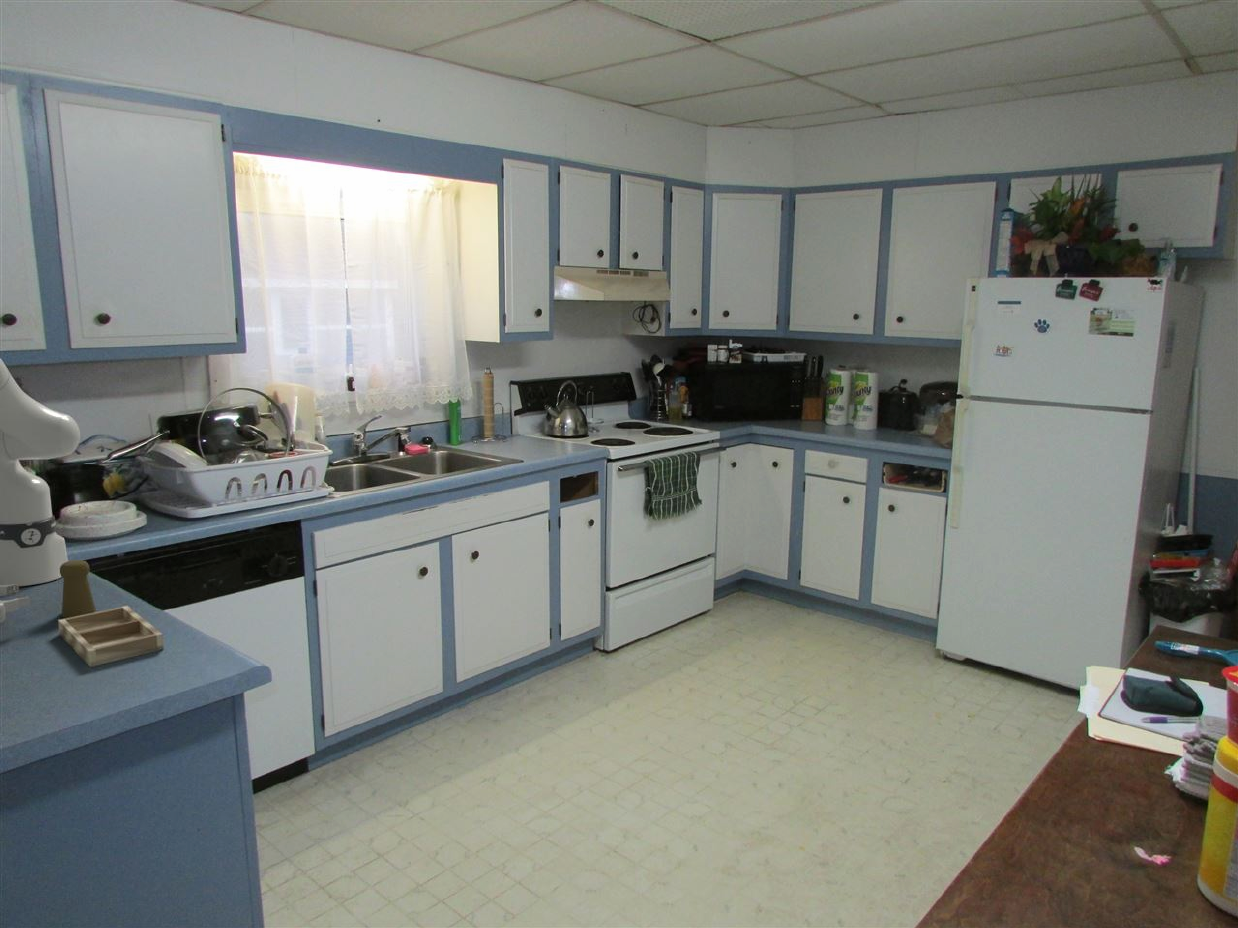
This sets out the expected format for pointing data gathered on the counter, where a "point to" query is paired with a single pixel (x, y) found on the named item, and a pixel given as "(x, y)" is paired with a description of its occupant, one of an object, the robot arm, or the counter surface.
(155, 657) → the counter surface
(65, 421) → the robot arm
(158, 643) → the caddy
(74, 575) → the cork
